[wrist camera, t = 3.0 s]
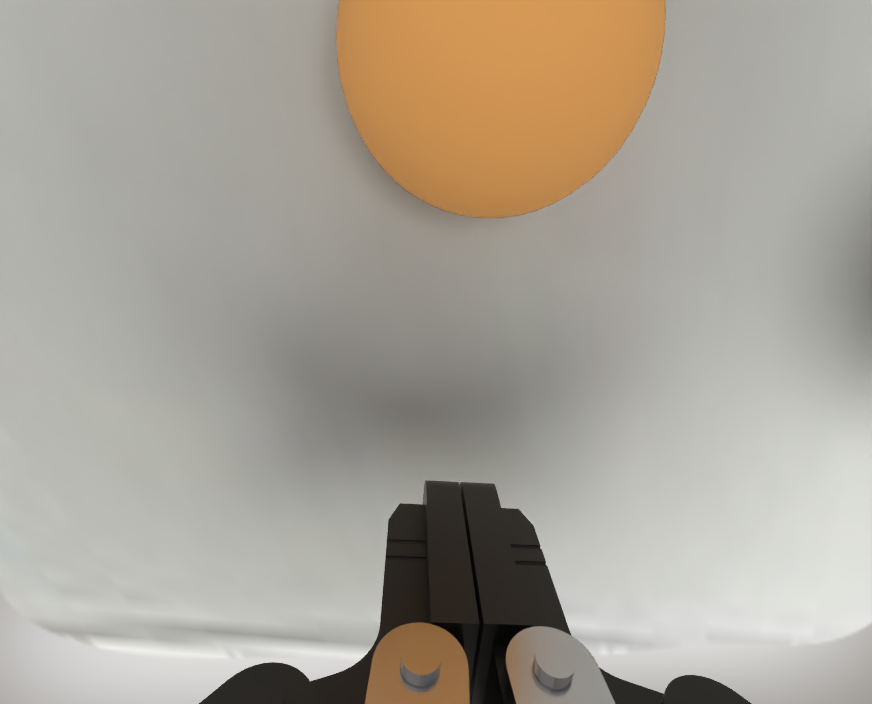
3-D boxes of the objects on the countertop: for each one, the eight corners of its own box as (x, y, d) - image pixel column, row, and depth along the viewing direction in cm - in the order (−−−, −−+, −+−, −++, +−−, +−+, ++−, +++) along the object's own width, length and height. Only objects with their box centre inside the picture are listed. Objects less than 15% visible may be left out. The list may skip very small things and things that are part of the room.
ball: (361, -78, 11) (301, -348, 5) (617, -45, 11) (816, -266, 6) (353, 198, 13) (303, 215, 7) (570, 218, 13) (683, 248, 8)
